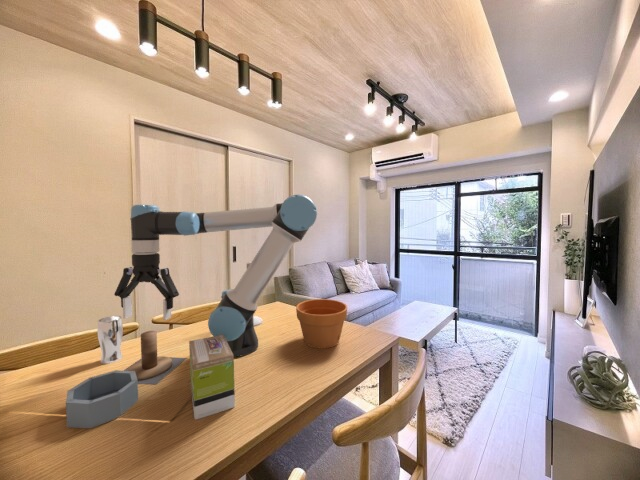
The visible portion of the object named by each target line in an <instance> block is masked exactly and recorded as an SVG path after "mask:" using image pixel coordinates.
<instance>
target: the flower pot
mask: <svg viewBox="0 0 640 480" xmlns="http://www.w3.org/2000/svg"><path fill="white" fill-rule="evenodd" d="M295 307H296V308H295V310H296V318H297V320H298V322H299V324H300V327H301V328H300V329H301V334H302V337H303V341H304V342H305V344H306V345H308V346H309V347H311V348H314V349H316V348H317V349H329V348H332V347H335V346H337V345H338V344H339V342H340V339H341V335H342V331H343V326H344V324H345V320H347V317H348V316H347V315H348V306H347V304H346V303H344V302H343V301H340V300H336V299H328V298H316V299H315V298H314V299H307V300H304V301H301V302H299V303H298V304H297V305H296V306H295Z"/></svg>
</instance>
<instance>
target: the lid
mask: <svg viewBox="0 0 640 480" xmlns="http://www.w3.org/2000/svg"><path fill="white" fill-rule="evenodd" d="M157 338H158V336H157V330H148V331H145V332H142V333H141V334H140V352H141V353H140V356H141V357H140V359H141V361H138V360H137V361H138V362H137V361H135V362H136V363H135V362H133V363H132V364H131V365H129V366H128V367H126V368H127V369H126V368H125V369H126V371H135V373H136V377H137V380H146V379H150V378H154V377H156V376H159V375H161V374H163V373H165V372H166V371H168V370H169V369H170V368H171V367H172V359H171V358H169V356H160V355H159V356H158V339H157Z"/></svg>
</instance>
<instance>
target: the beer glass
mask: <svg viewBox="0 0 640 480" xmlns="http://www.w3.org/2000/svg"><path fill="white" fill-rule="evenodd" d="M123 328H124V327H123V316H121V315H110V316H105V317H102V318H100V319H98V320H97V339H98V343H99V344H98V345H99V347H100V351H101V355H100V356H101V357H100V364H103V365H106V364H113V363H116V362H118V361H120V360H121V359H122V358H123V355H122V348H121V345H122V341H123V334H124V330H123Z"/></svg>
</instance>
